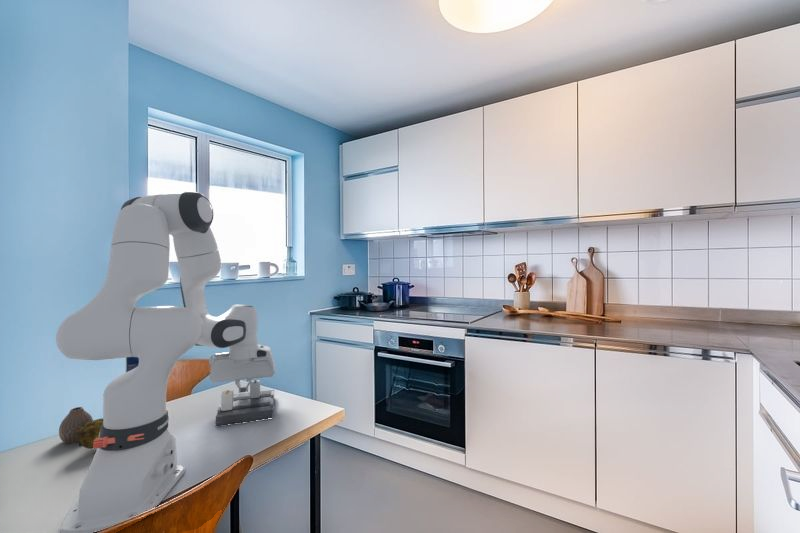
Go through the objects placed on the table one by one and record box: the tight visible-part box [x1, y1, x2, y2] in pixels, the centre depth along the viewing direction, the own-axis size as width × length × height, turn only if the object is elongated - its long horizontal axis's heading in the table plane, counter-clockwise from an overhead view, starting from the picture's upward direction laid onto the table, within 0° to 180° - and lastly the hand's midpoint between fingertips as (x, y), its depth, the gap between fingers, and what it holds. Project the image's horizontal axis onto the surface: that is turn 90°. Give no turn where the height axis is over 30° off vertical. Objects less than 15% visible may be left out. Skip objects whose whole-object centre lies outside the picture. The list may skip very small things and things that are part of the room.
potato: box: [76, 418, 103, 450], centre depth 90 cm, size 8×13×8 cm, turn 141°
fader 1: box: [220, 389, 234, 411], centre depth 107 cm, size 3×3×5 cm
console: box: [215, 389, 275, 427], centre depth 112 cm, size 18×16×4 cm
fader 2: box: [249, 379, 261, 398], centre depth 117 cm, size 3×3×5 cm
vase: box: [58, 406, 94, 445], centre depth 93 cm, size 7×7×9 cm
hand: (243, 391), depth 116 cm, fingers closed
